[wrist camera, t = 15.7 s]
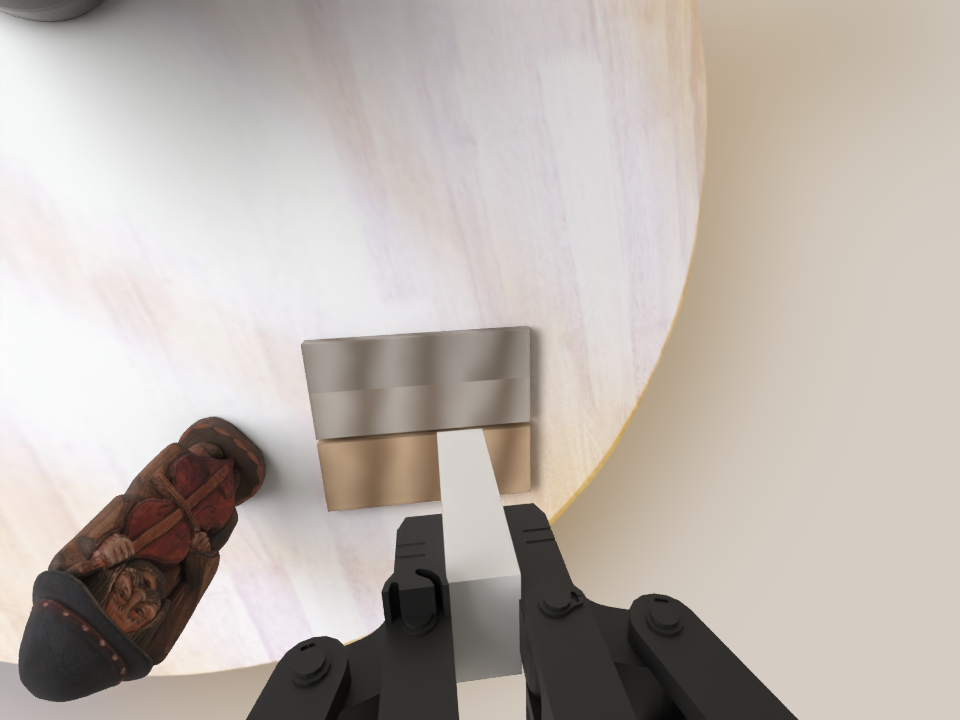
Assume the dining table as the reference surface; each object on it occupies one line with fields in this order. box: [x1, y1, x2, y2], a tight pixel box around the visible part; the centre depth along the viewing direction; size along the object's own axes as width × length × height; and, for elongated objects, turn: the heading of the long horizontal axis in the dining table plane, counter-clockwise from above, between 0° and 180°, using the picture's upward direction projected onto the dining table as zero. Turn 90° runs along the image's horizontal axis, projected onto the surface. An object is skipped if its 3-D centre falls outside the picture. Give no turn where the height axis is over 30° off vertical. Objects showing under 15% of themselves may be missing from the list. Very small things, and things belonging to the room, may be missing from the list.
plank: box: [317, 422, 531, 512], centre depth 52 cm, size 22×8×2 cm, turn 92°
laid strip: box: [301, 326, 530, 440], centre depth 49 cm, size 22×10×2 cm, turn 92°
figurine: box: [19, 417, 266, 702], centre depth 38 cm, size 10×8×25 cm
